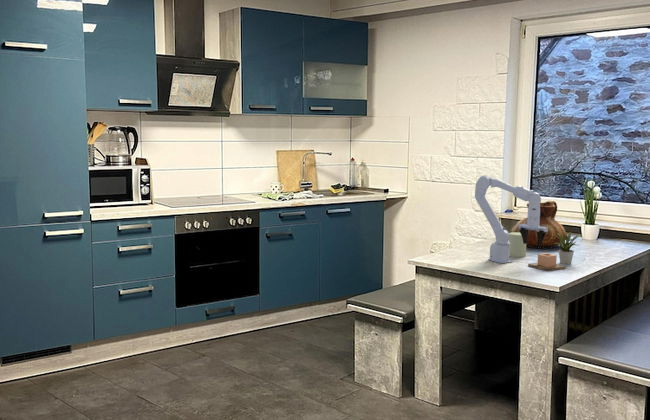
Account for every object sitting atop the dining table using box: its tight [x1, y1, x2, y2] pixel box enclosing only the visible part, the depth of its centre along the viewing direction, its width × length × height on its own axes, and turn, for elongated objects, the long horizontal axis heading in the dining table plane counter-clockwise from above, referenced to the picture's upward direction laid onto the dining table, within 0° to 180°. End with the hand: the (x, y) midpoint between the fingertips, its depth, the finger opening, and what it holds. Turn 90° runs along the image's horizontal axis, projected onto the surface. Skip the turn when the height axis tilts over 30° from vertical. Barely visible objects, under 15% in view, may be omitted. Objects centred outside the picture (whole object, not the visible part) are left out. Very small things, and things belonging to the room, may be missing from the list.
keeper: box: [527, 262, 567, 272], centre depth 315 cm, size 12×12×5 cm
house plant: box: [556, 230, 582, 265], centre depth 324 cm, size 14×14×16 cm
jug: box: [510, 200, 568, 249], centre depth 370 cm, size 30×30×25 cm
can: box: [508, 231, 527, 258], centre depth 343 cm, size 9×9×12 cm
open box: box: [536, 252, 558, 267], centre depth 315 cm, size 6×6×5 cm
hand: (532, 244), depth 323 cm, fingers open, 7 cm apart
